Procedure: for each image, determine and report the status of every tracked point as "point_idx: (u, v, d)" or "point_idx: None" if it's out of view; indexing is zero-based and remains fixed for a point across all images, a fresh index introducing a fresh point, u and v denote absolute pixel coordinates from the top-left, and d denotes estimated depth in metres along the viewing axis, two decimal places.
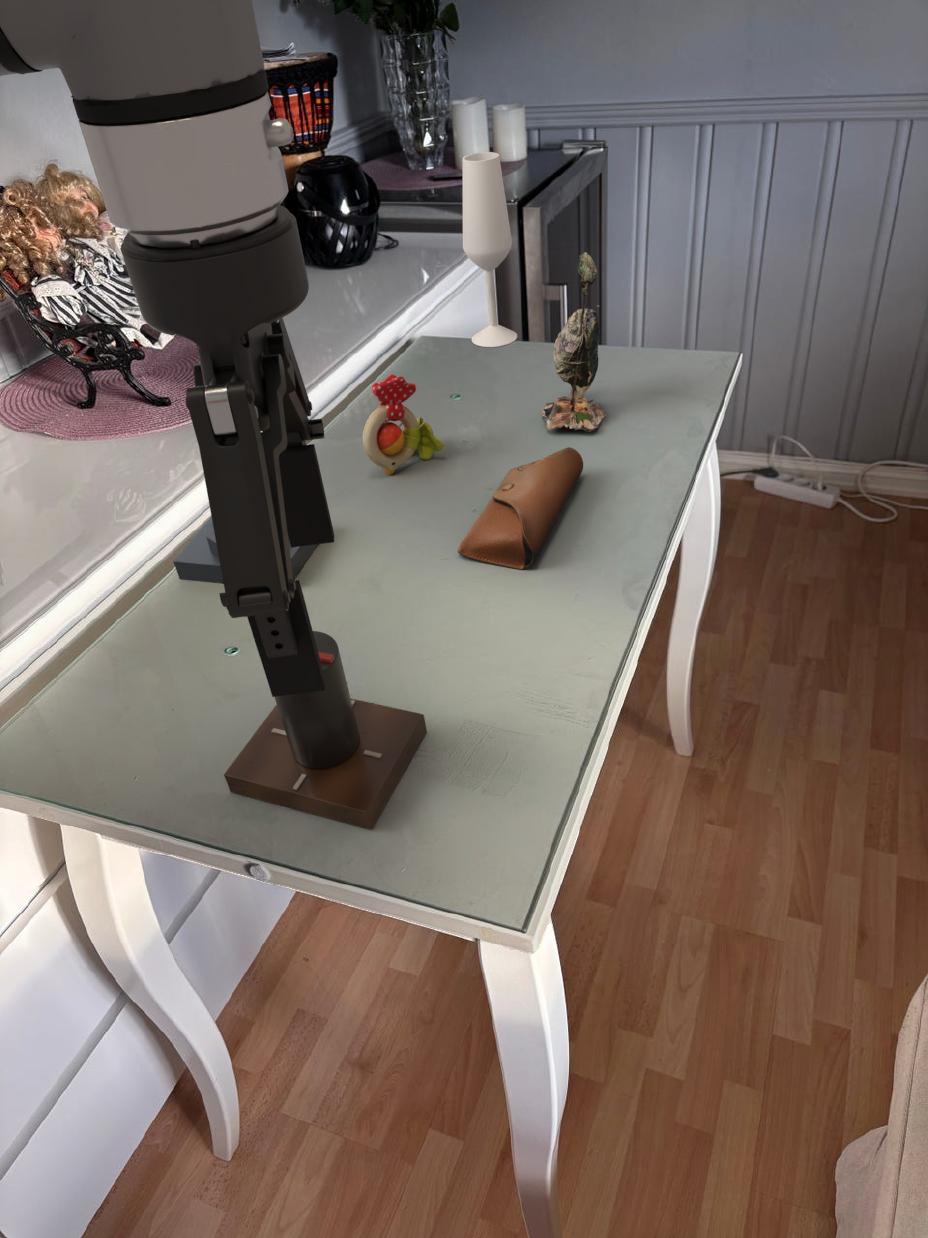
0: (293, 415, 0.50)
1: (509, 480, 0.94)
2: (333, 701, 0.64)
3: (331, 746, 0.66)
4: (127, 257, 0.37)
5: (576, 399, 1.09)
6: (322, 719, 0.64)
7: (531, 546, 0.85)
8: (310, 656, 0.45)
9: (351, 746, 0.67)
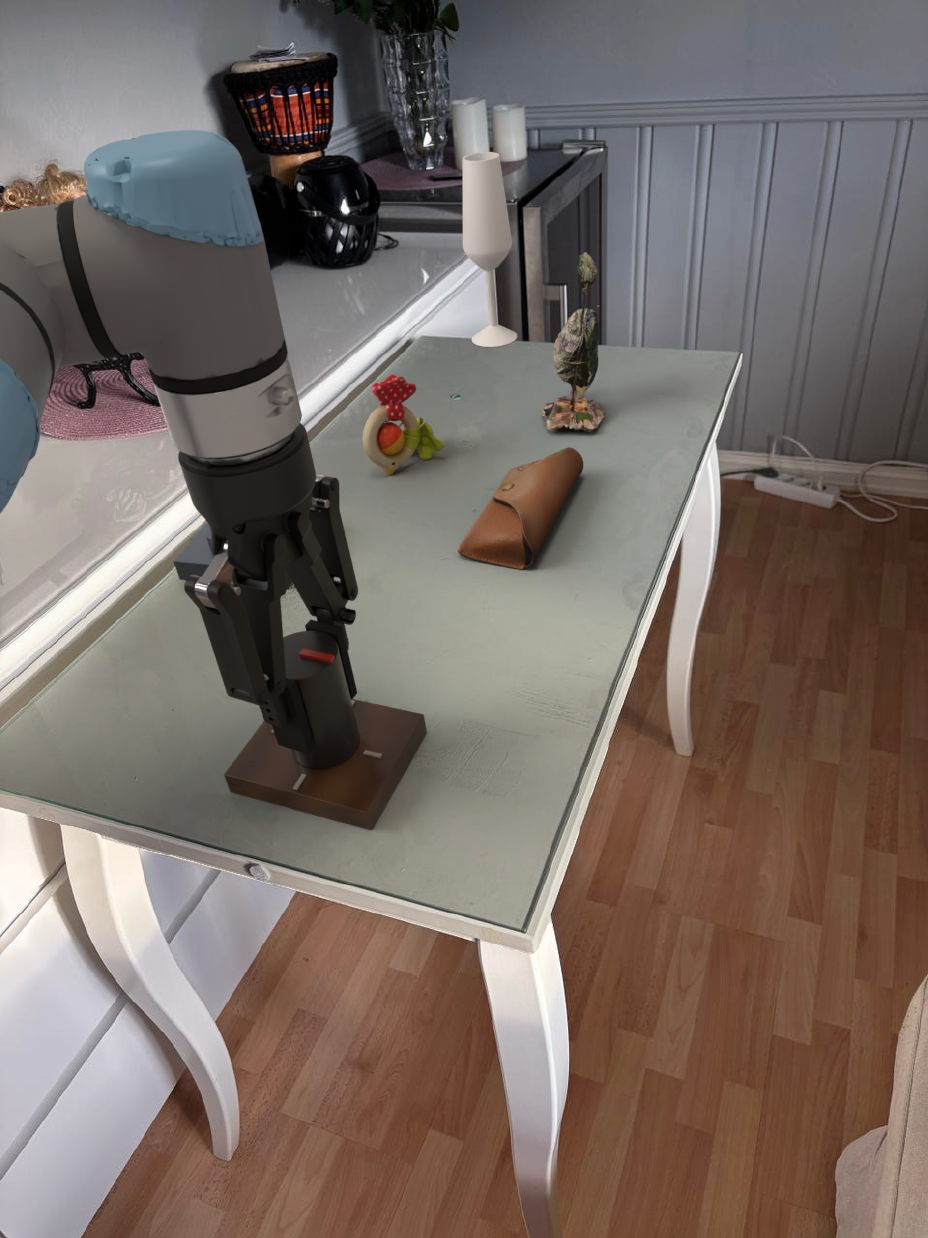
0: (319, 590, 0.62)
1: (509, 480, 0.94)
2: (333, 701, 0.64)
3: (331, 746, 0.66)
4: (178, 454, 0.53)
5: (576, 399, 1.09)
6: (322, 719, 0.64)
7: (531, 545, 0.85)
8: (299, 730, 0.63)
9: (351, 746, 0.67)
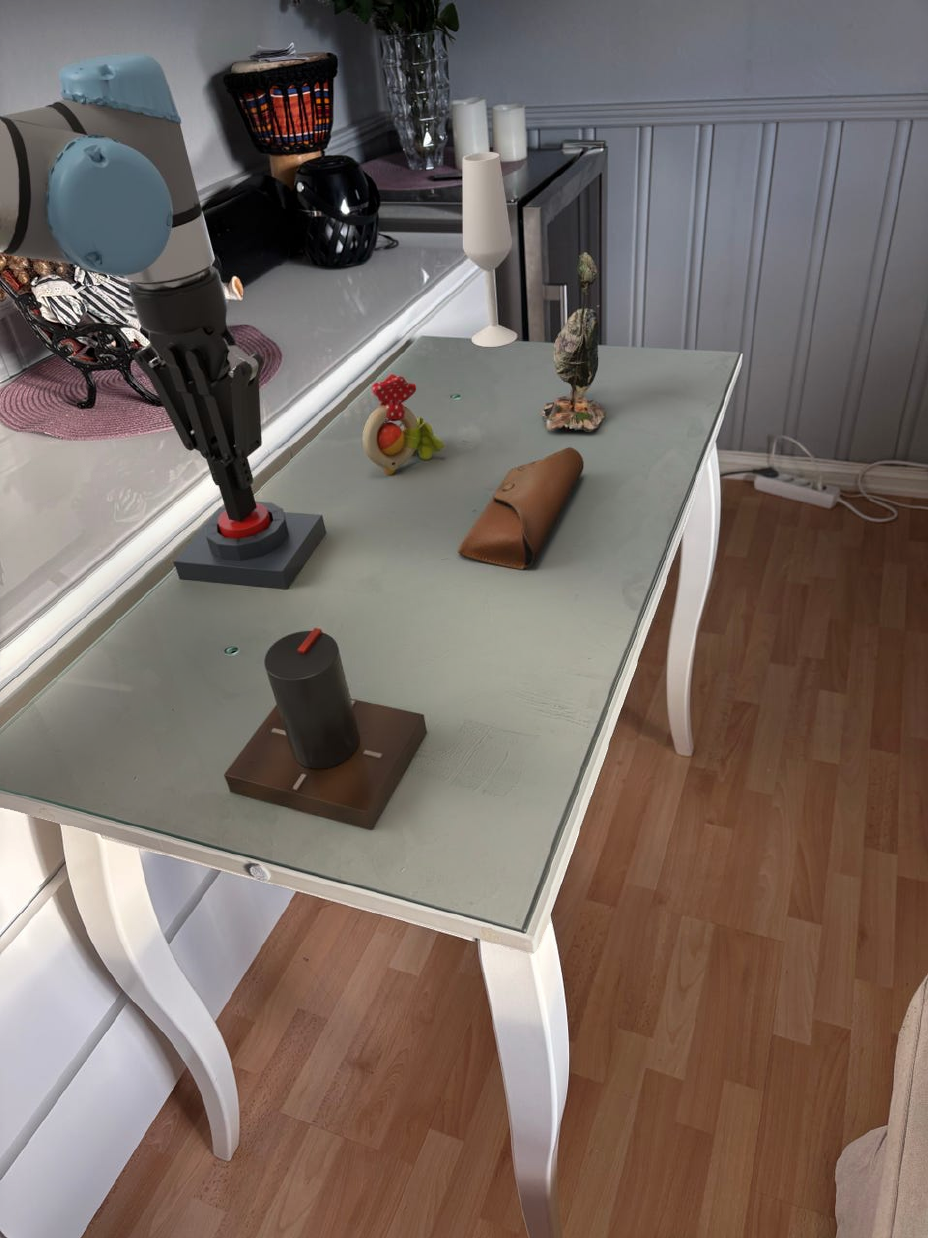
0: None
1: (509, 480, 0.94)
2: None
3: None
4: (169, 296, 0.73)
5: (576, 399, 1.09)
6: None
7: (532, 546, 0.85)
8: (249, 488, 0.89)
9: None
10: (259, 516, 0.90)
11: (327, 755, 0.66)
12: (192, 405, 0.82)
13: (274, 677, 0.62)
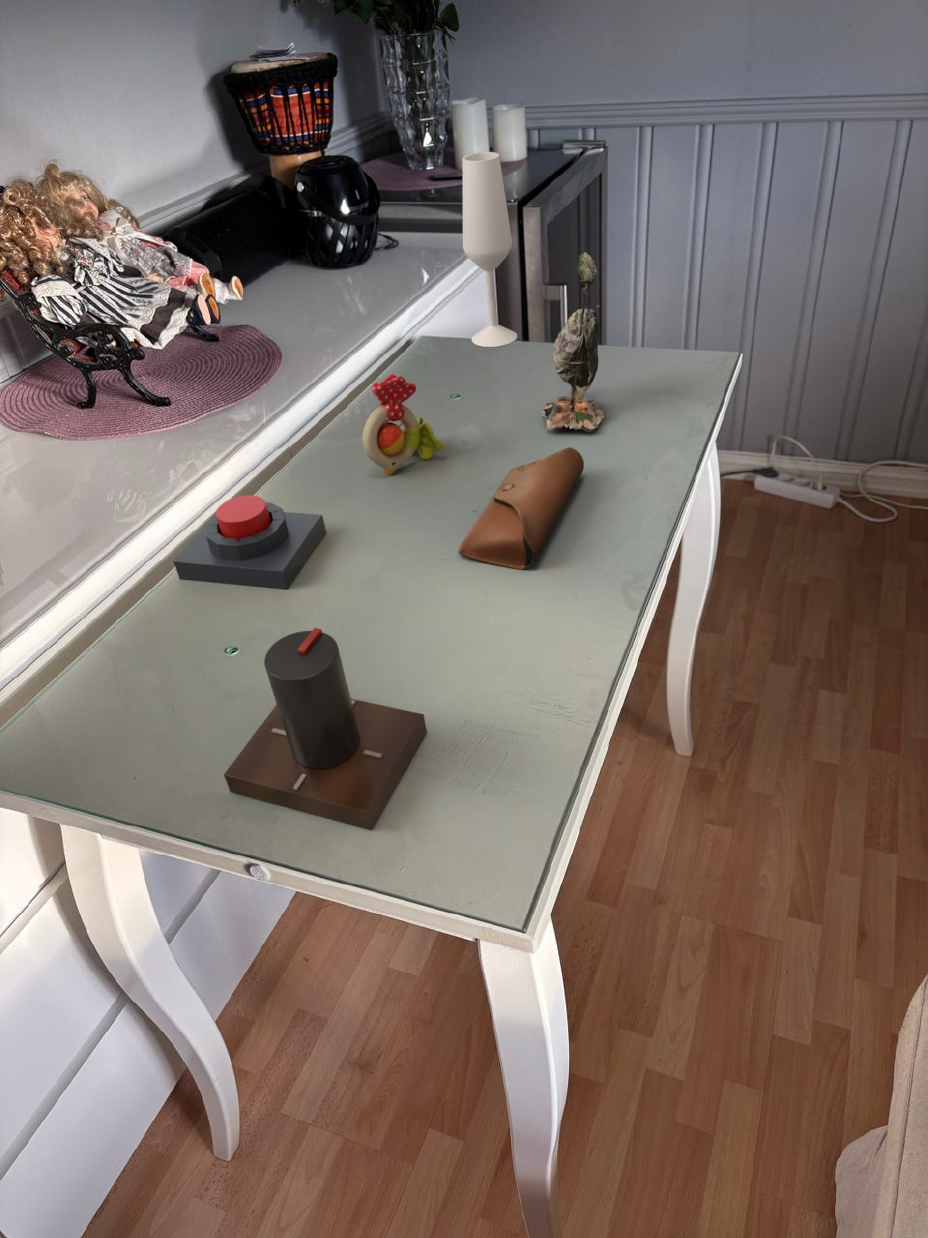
0: None
1: (510, 480, 0.94)
2: None
3: None
4: None
5: (576, 399, 1.09)
6: None
7: (532, 546, 0.85)
8: None
9: None
10: (256, 508, 0.90)
11: (327, 755, 0.66)
12: None
13: (274, 677, 0.62)
